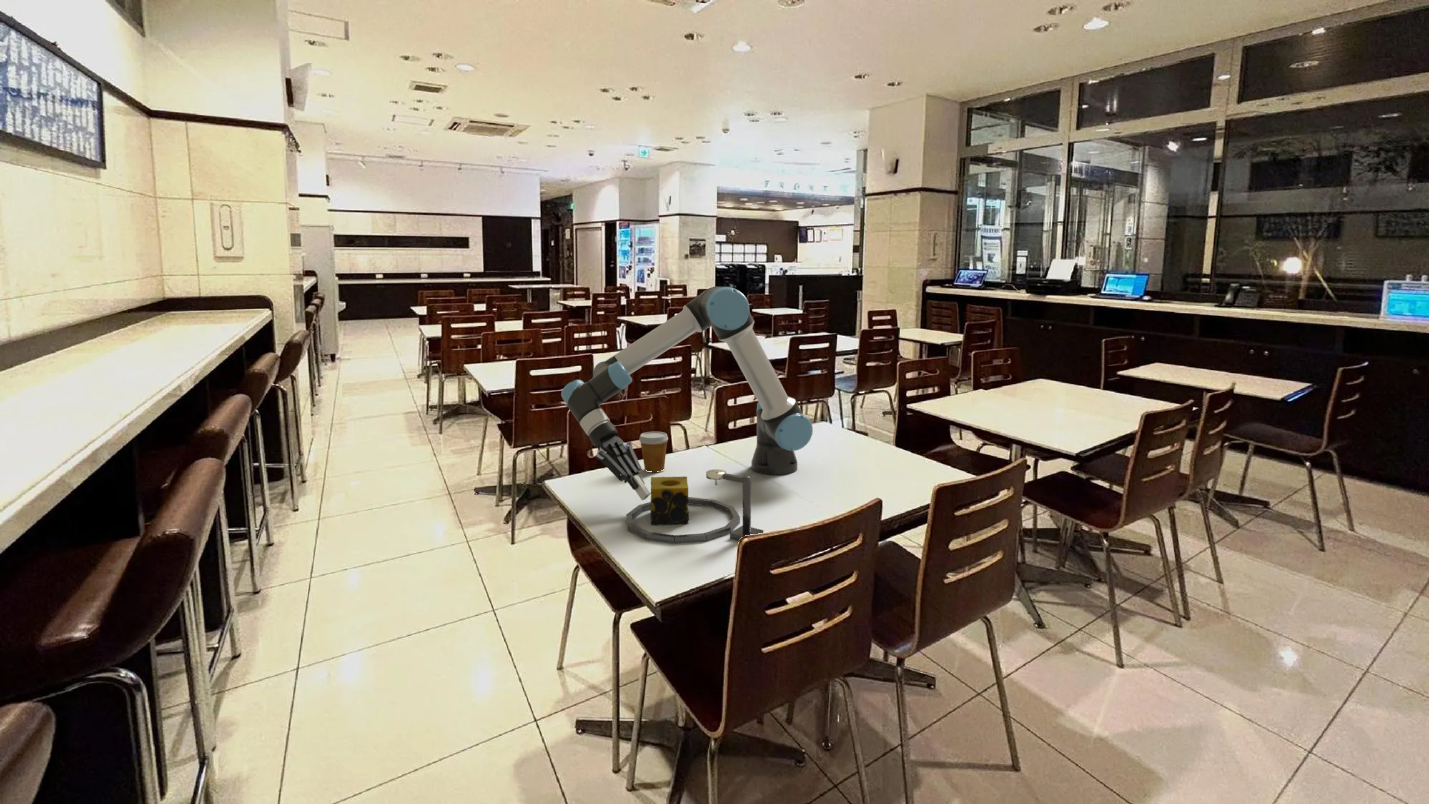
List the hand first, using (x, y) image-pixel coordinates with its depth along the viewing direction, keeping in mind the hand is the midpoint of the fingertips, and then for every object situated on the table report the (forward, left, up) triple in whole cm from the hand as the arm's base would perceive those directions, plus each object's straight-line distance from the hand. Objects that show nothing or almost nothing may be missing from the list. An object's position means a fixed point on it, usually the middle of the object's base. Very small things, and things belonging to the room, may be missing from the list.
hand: (646, 497), depth 186 cm
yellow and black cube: (-6, +5, -5) cm, 9 cm away
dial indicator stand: (-20, +19, -4) cm, 28 cm away
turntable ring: (-9, +8, -4) cm, 13 cm away
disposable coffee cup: (-6, -40, -5) cm, 40 cm away
